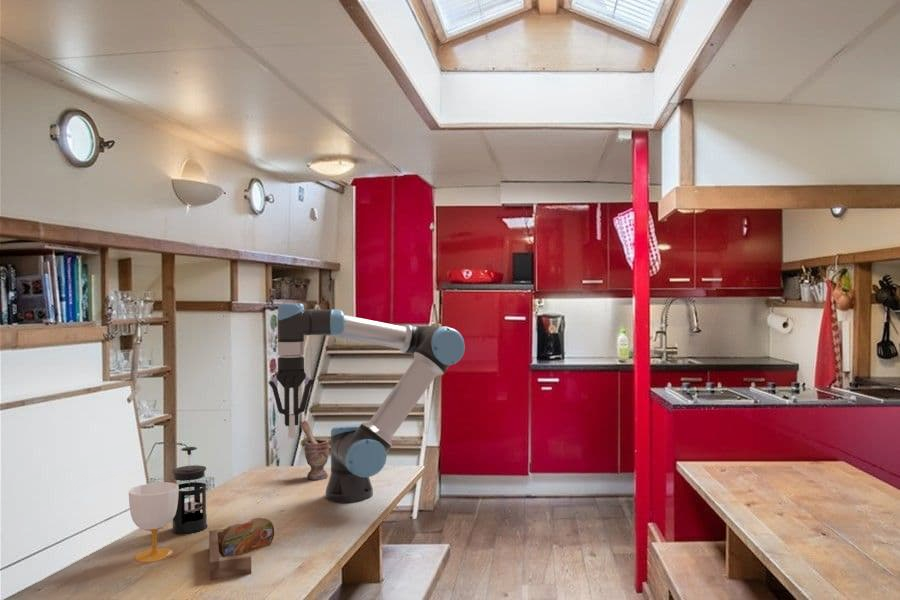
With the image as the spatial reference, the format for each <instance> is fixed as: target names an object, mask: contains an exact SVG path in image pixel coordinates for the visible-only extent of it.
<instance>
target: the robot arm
mask: <svg viewBox="0 0 900 600" xmlns="http://www.w3.org/2000/svg"><path fill="white" fill-rule="evenodd" d="M276 320H277V322H276V323H277V356H279V357H278V358H277V372H276V375H275V378H273V379H271V380H269V381H268V384H269V386H270V387H271V389H272V392H273V397H274V400H275V404H276V408H277V412H278V413H279V414H282V415H284V425H285V427H287V428H288V430H287V431H288V437H289V439H293V438H296V437H295V436H296V428H295V427H296V426H299V415H300V414H301V413H304V412H305V410H306V408H307V403H308V398H309V394H310V389H311V386H312V385H313V383H314V380H313V378H310V377H308V376H307V374H306V371H305V357H304V355H305V336H328V337H329V336H330V337H333V338H338V339H340V338H341V339H345V340H351V341H355V342H361V343H367V344H371V345H377V346H383V347H387V348H388V347H389V348H393V349H398V350H400V352H401V353H403V354H404V353H405V354H408V355H412V356H413V358H414V360H413V362H412V363H411V364H410V365H409V366H408V368H407V370H406V371H405V372H404V374H403V375H402V377H401V378H400V379H399V380H398V382H397V383H396V385H395V386H394V387H393V389H392V390H391V392H390V393H389V394H388V395H387V397H386V398H385V399H384V401H383V402H382V403H381V405H380V406H379V408H378V409H377V410H376V412H374V414H373V416H372V417H371V418H370V420H369V421H367V422H361V424H349V425H338V426H334V427H332V428H331V430H330V436H329V439H330V475H329V479H328V481H327V485H326V490H325V500H327V501H329V502H331V503H336V504H351V503H359V502H363V501H367V500H369V499H371V498H372V497H373V495H374V490H373V486H372V482H371V479H370V477H373V476H375V475H377V474H379V473H380V472H381V471H382V470H383V468H384V466H385V465H386V462H387V453H388V452H389V451H390V449H391V448H392V446H393V442H392V439H393V436H394V435H395V434H396V433H397V431H398V429H400V427H401V425H402V424H403V422H404V421H405V420H406V418H407V417H408V415H409V414H410V413H411V411H412V410H413V409H414V407H416V404H418V402H419V400H420V399H421V397H422V396H423V395H424V393H425V392H427V389H428V388H429V386H431V384H432V382H433V381H434V380H435V378H436V377H437V376H443V375H444V374H445V373H446V371H447V370H448V368H449V367H450V366H452V365H455V364H457V363H458V362H459V361H461V359H462V358H463V356H464V355H465V351H466V350H465V349H466V345H465V340H464V337H463V336H462V334H461V333H460V331H458V330H457V329H455V328H452V327H449V326H436V325H413V324H409V323H408V324H405V325H404V326H402V325H397V324H392V323H388V322H387V323H386V322H381V321H378V320H371V319H367V318H362V317H357V316H353V315H352V316H351V315H346V314H344V311H343V310H341V309H333V308H332V309H317V308H316V309H315V308H309V309H305V307H304V304H303V303H281V304H279V305H278V307H277V319H276ZM278 382H279V383H278ZM303 383H304V384H305V385H304V388H303V392H302V397H301V401H300V402H299V387H300V386H301V385H302V384H303ZM279 384H280V385H281V386H282V387H283V393H284V394H283V395H284V396H283V397H284V398H283V403H284V404H283V405H282V401H281V398H280V394H279V389H278V385H279ZM291 388H292V390H293V391H292V393H293V394H292V402H293V403H292V404H293V405H292V406H293V407H292V408H293V409H292V410H293V413H290V393H291V392H290V391H291V390H290V389H291ZM299 403H300V405H299ZM283 407H284V408H283Z"/></svg>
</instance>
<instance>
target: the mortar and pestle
mask: <svg viewBox="0 0 900 600" xmlns="http://www.w3.org/2000/svg"><path fill="white" fill-rule="evenodd" d="M300 428H301V429H302V432H303V433H304V435H305V436H306V438H307V439H308V440H306V441H304V453H305V454H304V456H305V460H306V463H307V465H308V466H310V471H308V473H307V477H306V478H307V479H308V480H314V481H315V480H316V481H317V480H318V481H319V480H321V481H322V480H325V479H327V478H328V476H329V475H328V472H327V471H326V470H325V469H324V467H325V465H327V463H328V460H329V457H330V456H329V454H330V450H329V449H330V441H329V440H328V439H324V438H322V439H315V437H314V435H313V432H312V429H311V427H310V424H309V423H308V421H307V420H304V421H301V422H300Z"/></svg>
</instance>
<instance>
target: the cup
mask: <svg viewBox="0 0 900 600" xmlns="http://www.w3.org/2000/svg"><path fill="white" fill-rule="evenodd" d="M178 485H179V484H178V483H174V482H166V481H165V482H163V481H162V482H160V481H159V482H149V483H146V484H140V485H137V486H134V487H132V488H131V489H129V490H128V503H129V505H128V506H129V512H130V516H131V520H132V522H133V523H134V524H135V526H136V527H137V528H138V529H140V530H145V531H148V532H151V537H152V538H151V539H152V544H151V545H152V546H151V549H147V550H144V551H142V552H140V553H139V552H138V553H137V555H136V556H135V558H134V560H135V561H137V562H139V563H149V562H150V563H151V562H155V561H160V560H163V559H165V558H167V557H166V555H167V554H168V552H169V551H170V550H172V549H171V548H166V547H159V548H158V545H157V540H158V539H157V535H158V531H159V530H161V529H164V528H165V527H167V526H169V524H171V522H173V518H174V516H175V514H176V511H177V505H178V494H179V491H180V489H179V486H178ZM172 552H174V550H172Z"/></svg>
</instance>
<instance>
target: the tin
mask: <svg viewBox="0 0 900 600" xmlns="http://www.w3.org/2000/svg"><path fill="white" fill-rule="evenodd" d="M224 529H225V530H224V531H223V532H222V533H221V535H220V537H219V540H218V548H219V555H220V556H221V557H229V556H237V555H244V554H249V553H250V552H251V553H252V552H253V551H256V550H260V549H262V548H265V547H269V546H271V544H272V543H273V541H274V537H275V527H274V524H273V523H272V521H271V520H270V519H268V518H263V517H254V518H251V519H247V520H245V521H242V522H239V523H235V524H232V525H229V526H227V527H226V528H224Z"/></svg>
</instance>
